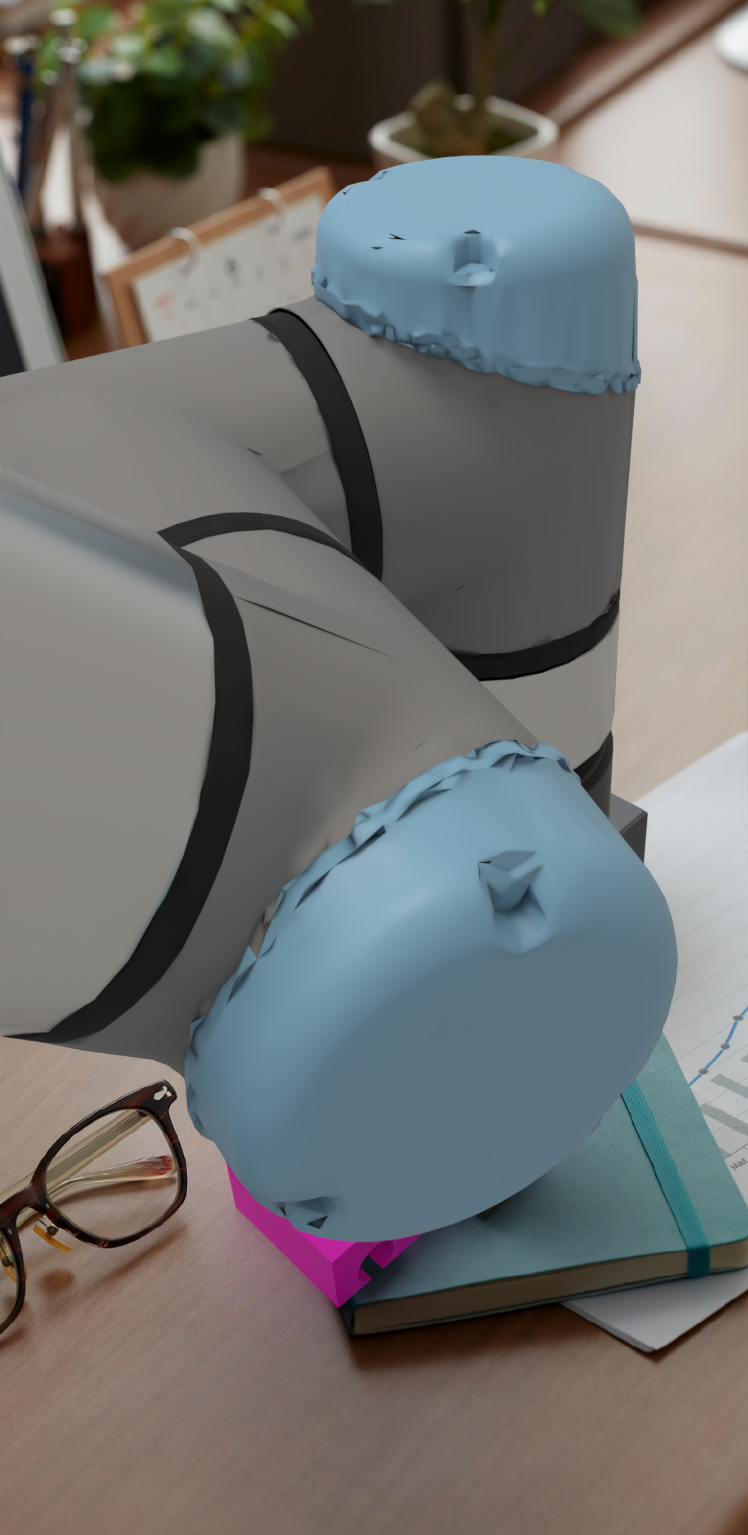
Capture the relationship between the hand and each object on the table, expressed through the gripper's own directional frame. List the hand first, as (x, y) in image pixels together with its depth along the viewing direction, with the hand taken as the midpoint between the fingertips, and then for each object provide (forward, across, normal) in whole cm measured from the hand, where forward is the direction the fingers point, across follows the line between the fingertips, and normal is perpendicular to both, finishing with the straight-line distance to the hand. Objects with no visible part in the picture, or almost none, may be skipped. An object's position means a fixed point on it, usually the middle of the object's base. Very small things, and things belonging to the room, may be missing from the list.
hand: (493, 1188), depth 57 cm
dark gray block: (+2, +9, -14) cm, 17 cm away
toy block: (+2, +4, 0) cm, 5 cm away
